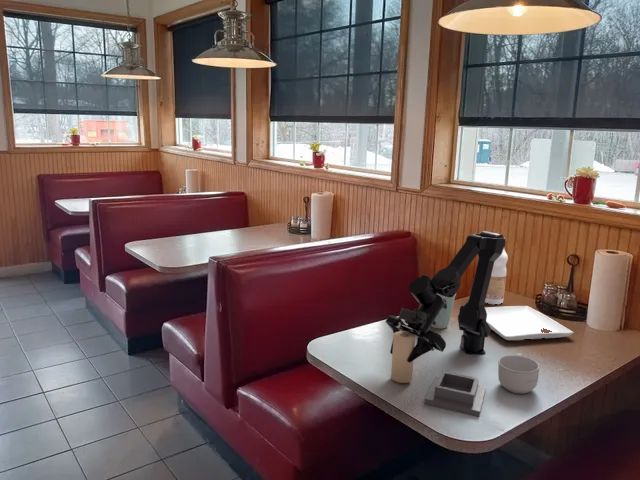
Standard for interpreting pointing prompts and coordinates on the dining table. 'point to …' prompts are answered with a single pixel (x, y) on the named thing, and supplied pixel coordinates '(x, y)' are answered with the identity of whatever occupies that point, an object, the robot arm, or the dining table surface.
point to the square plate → (523, 323)
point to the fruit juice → (497, 280)
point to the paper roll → (402, 356)
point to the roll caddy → (456, 393)
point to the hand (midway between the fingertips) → (399, 357)
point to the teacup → (518, 373)
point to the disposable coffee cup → (444, 313)
